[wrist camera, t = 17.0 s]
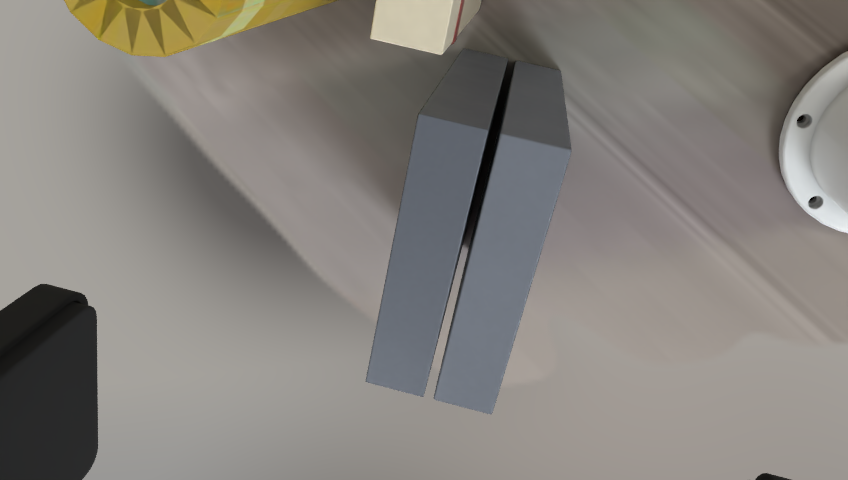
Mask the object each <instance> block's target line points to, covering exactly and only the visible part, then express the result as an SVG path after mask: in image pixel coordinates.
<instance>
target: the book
mask: <svg viewBox="0 0 848 480" xmlns="http://www.w3.org/2000/svg"><path fill="white" fill-rule="evenodd" d="M64 1H65V3H66V5H67V7H68V9H69V10H70V12H71V13H72V14H73V15H74V16H75V17H76V18H77V19H78V20H79V21H80V22H81V23H82V24H83V25H84V26H85V27H86V28H87V29H88V30H89V31H90V32H91V33H92V34H93V35H94V36H95V37H96V38H98V40H100V41H103V42H105V43H107V44H109V45H111V46H113V47H115V48H117V49H120V50H122V51H124V52H126V53H128V54H130V55H138V56H159V57H166V56H169V55H172V54H176V53H179V52H182V51H185V50H188V49H191V48H194V47H197V46H200V45H203V44H206V43H209V42H212V41H215V40H218V39H221V38H224V37H227V36H231V35H234V34H237V33H240V32H243V31H246V30H249V29H252V28H255V27H258V26H261V25H264V24H267V23H270V22H273V21H276V20H279V19H282V18H286V17H289V16H292V15H295V14H298V13H301V12H304V11H307V10H310V9H313V8H316V7H319V6H322V5H325V4H328V3H331V2H334V1H337V0H64Z"/></svg>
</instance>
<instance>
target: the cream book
mask: <svg viewBox="0 0 848 480" xmlns="http://www.w3.org/2000/svg"><path fill="white" fill-rule="evenodd" d="M481 1H482V0H376V3H375V10H374V16H373V22H372V29H371V35H370V38H371V39H374V40H378V41H382V42H387V43H391V44H395V45H400V46H404V47H408V48H413V49H417V50H421V51H426V52H430V53H434V54H439V55H442V54H443V53H444V52H445V51H446V49H447V48H448V47H449V46H450V45H451V44H454V42H455V41H456V39H457V36H458V35H459V34H460V33H461V31H462V30H463V29H464V28H465V26H466V25H467V24H468V23H469V22H470V20H471V19H472V18H473V17H474V16H475V14H476V13H477V12H478V11H479V10H480V6H481Z"/></svg>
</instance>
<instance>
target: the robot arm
mask: <svg viewBox="0 0 848 480" xmlns="http://www.w3.org/2000/svg"><path fill="white" fill-rule="evenodd" d="M801 115H803V116H804V118H803V120H802V121H799V122H797V119H798V118H799V117H800V116H801ZM779 162H780V168H781V174H782V176H783V179H784V181H785V184H786V186H787V189H788V190H789V192H790V193H791V195H792V196H793V197H794V199H795V200H796V202H797V203H798V204H799V205H800V206H801V207H802V208H803V209H804V210H805V211H806V212H807V213H808V214H809V215H811V216H812V217H813V218H815V219H816V220H818V221H819V222H820V223H822V224H824V225H826V226H828V227H831V228H833V229H835V230H837V231H841V232H845V233H848V51H847V52H845V53H843V54H841V55H840V56H838V57H837V58H835V59H834V60H833V61H831V62H830V63H829V64H827V65H826V66H824V67H823V68H822V69H821V70H820V71H819V72H818V73H817V74H816V75H815V76H814V77H813V78H812V79H811V80H810V81H809V82H808V83H807V84H806V85H805V86H804V88H803V89H802V90H801V92H800V93H799V95H798V96H797V97H796V99H795V100H794V102H793V104H792V106H791V108H790V110H789V112H788V114H787V116H786V118H785V121H784V124H783V128H782V132H781V135H780V142H779ZM814 196H815V198H814V199H813V200H812V201H809V200H810V199H811V198H812V197H814ZM97 406H98V404H97V316H96V311H95V309H94V308H93V307H91V306H88V301H87V299H86V297H85V295H83V294H81V293H78V292H75V291H71V290H67V289H63V288H59V287H55V286H52V285H48V284H40V285H38V286H36V287H34V288H32V289H31V290H30V291H28V292H27V293H25V294H24V295H22V296H21V297H20V298H18V299H17V300H15V301H14V302H12V303H11V304H9V305H8V306H7V307H5V308H4V309H2V310H1V311H0V480H82V479H83V478H84V477H85V475H86V474H87V473H88V471H89V470H90V469H91V467H92V465H93V463H94V460H95V458H96V455H97V449H98V412H97V411H98V407H97ZM756 480H790V479H787V478H783V477H779V476H775V475H771V474H767V473H764V474H761V475H760V476H758V477H757V478H756Z"/></svg>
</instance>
